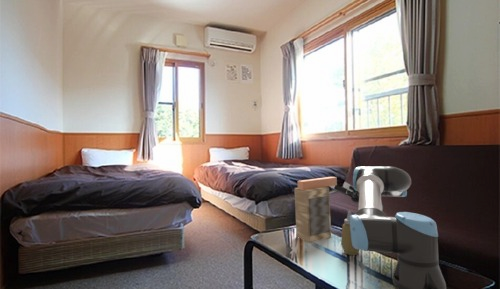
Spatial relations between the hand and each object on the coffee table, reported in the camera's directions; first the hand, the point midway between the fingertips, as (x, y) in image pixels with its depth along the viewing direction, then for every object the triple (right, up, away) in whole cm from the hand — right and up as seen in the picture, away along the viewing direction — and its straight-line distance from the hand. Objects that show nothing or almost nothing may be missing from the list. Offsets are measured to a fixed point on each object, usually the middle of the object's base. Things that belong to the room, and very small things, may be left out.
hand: (334, 182), depth 154 cm
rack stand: (-13, -26, -8) cm, 30 cm away
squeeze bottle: (-2, -26, -30) cm, 40 cm away
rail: (-10, -1, -6) cm, 12 cm away
